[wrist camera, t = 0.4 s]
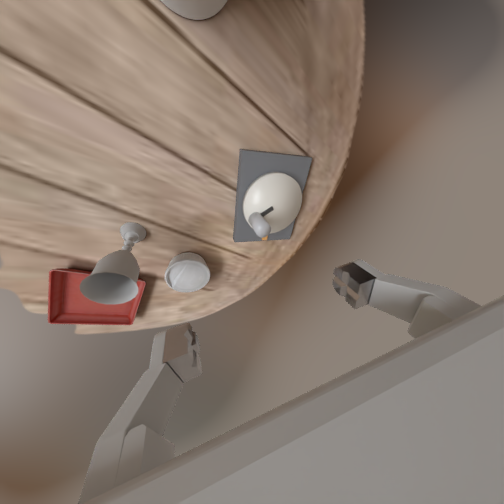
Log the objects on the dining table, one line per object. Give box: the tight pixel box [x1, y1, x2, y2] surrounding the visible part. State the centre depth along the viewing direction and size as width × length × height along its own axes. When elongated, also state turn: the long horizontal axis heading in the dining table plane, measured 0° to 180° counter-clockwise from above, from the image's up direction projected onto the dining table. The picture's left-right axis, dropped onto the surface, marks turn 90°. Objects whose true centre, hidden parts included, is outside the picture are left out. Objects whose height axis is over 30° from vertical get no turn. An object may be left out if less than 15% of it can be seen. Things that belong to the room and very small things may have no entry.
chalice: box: [80, 222, 146, 304], centre depth 35 cm, size 7×7×18 cm
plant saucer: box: [48, 269, 146, 325], centre depth 47 cm, size 18×18×3 cm
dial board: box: [233, 149, 312, 242], centre depth 46 cm, size 22×17×3 cm
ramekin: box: [165, 252, 210, 292], centre depth 49 cm, size 11×11×5 cm
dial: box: [242, 172, 302, 238], centre depth 43 cm, size 15×15×8 cm
